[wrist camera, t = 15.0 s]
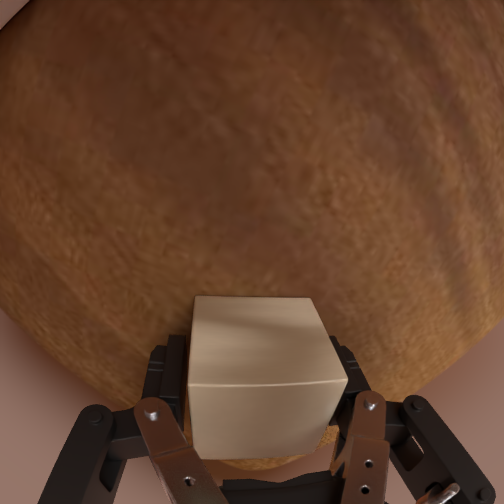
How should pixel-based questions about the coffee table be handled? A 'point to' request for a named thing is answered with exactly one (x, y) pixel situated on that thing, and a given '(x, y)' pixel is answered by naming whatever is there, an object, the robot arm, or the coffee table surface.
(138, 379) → the coffee table surface
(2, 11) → the jar
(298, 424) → the block
